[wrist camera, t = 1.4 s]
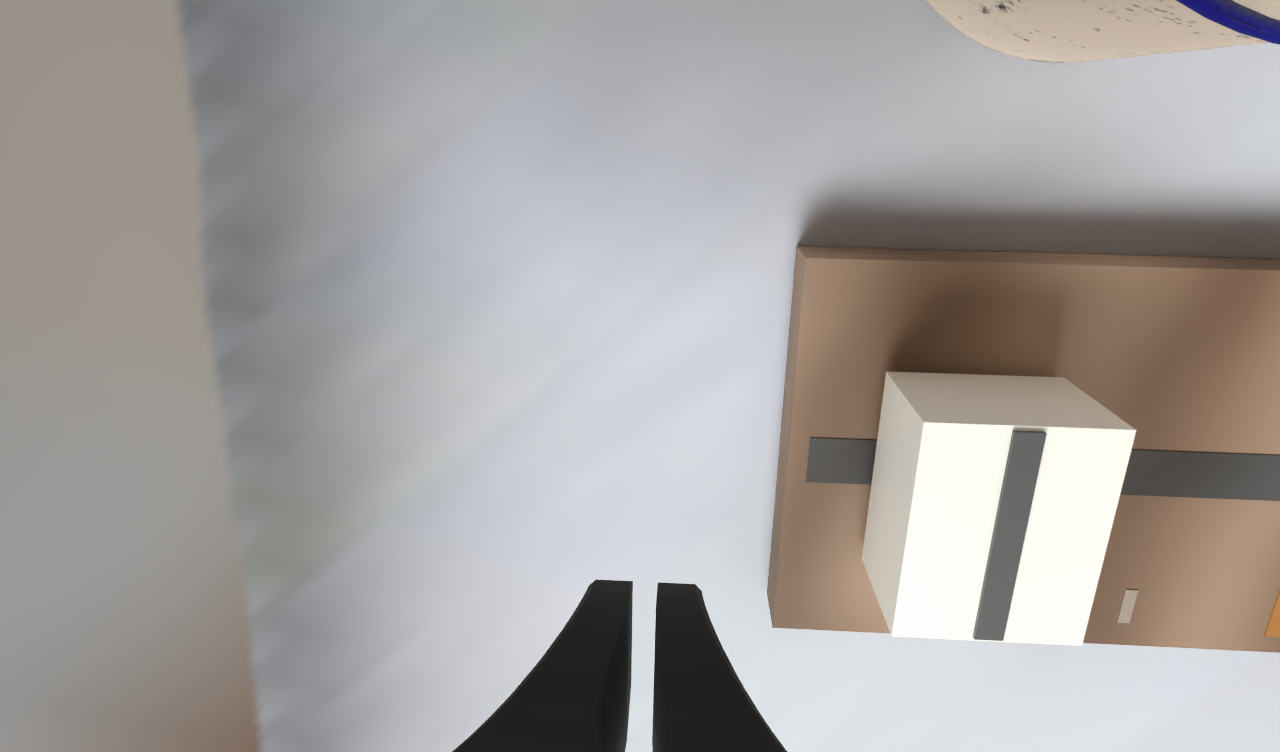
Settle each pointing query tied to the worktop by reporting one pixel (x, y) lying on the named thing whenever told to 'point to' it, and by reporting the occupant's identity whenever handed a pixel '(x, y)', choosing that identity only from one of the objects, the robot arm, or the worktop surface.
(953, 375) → the fader tab
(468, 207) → the worktop surface
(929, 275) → the console board
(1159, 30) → the teacup with lid
